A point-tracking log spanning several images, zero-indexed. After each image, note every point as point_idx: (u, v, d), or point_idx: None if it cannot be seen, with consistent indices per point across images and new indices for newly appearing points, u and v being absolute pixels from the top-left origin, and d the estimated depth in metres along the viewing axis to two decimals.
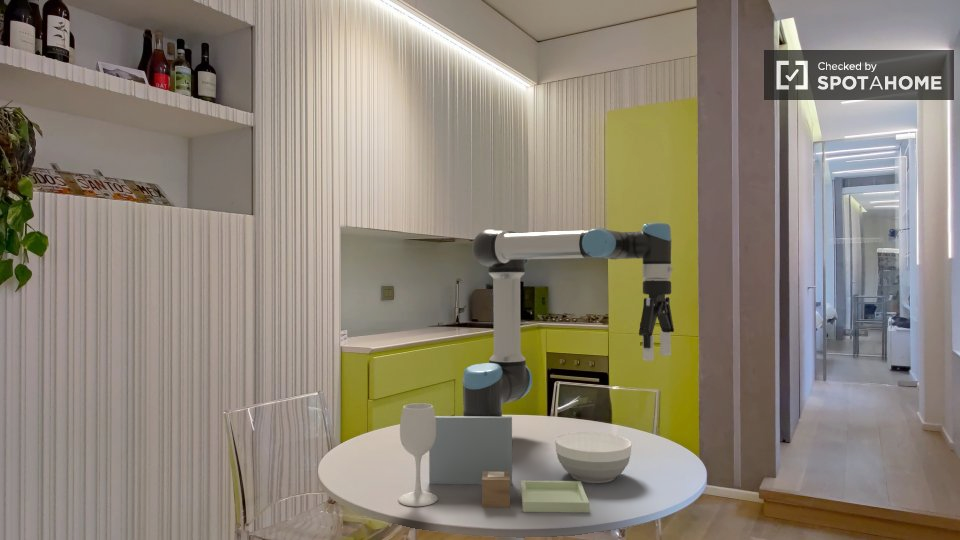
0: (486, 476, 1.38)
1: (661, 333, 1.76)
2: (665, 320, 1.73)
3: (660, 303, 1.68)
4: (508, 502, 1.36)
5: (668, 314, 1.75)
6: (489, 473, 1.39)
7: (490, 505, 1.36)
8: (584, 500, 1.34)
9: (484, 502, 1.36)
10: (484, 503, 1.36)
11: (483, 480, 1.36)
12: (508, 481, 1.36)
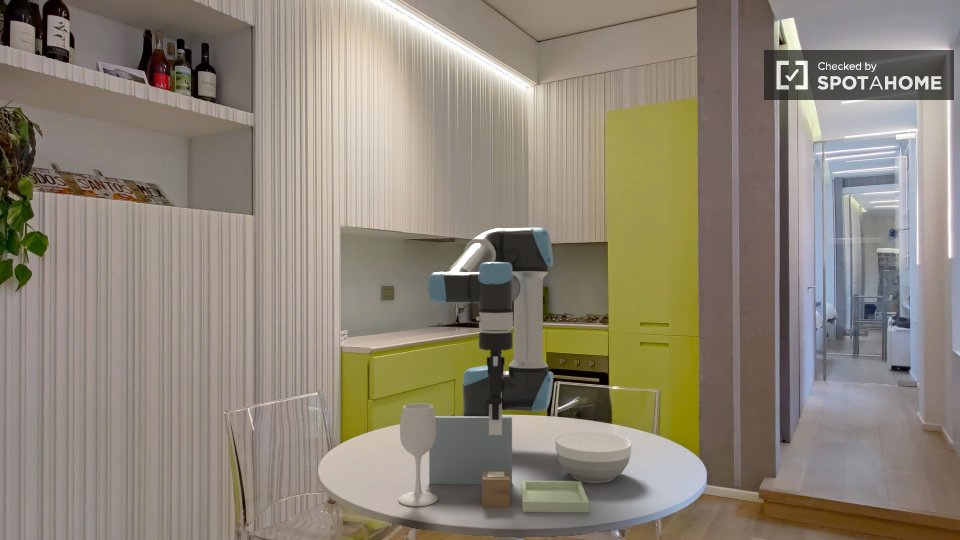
0: (486, 476, 1.38)
1: None
2: None
3: None
4: (508, 502, 1.36)
5: None
6: (489, 473, 1.39)
7: (490, 505, 1.36)
8: (584, 500, 1.34)
9: (484, 502, 1.36)
10: (484, 503, 1.36)
11: (483, 480, 1.36)
12: (508, 481, 1.36)
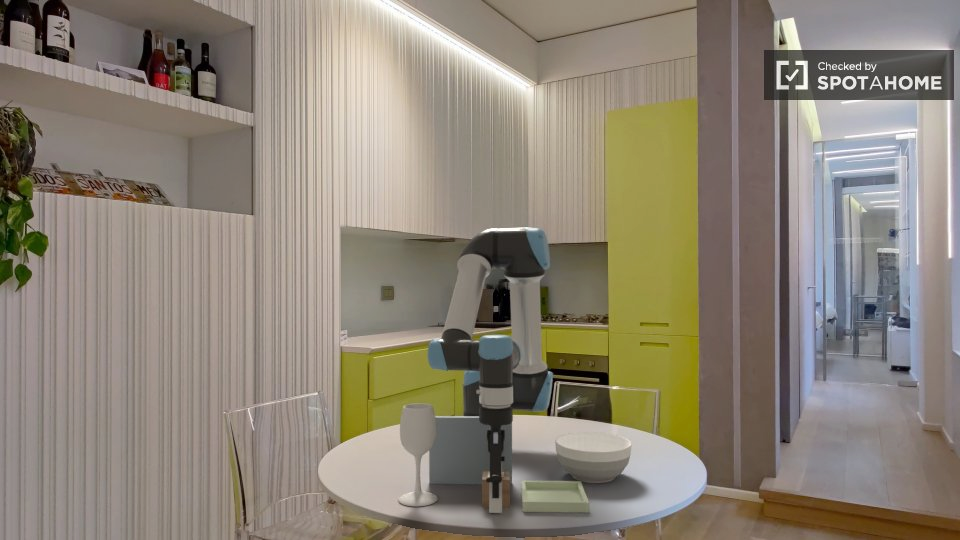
0: (486, 476, 1.38)
1: None
2: None
3: None
4: (508, 502, 1.36)
5: None
6: (489, 473, 1.39)
7: None
8: (584, 500, 1.34)
9: (484, 502, 1.36)
10: (484, 503, 1.36)
11: (483, 480, 1.36)
12: (508, 481, 1.36)
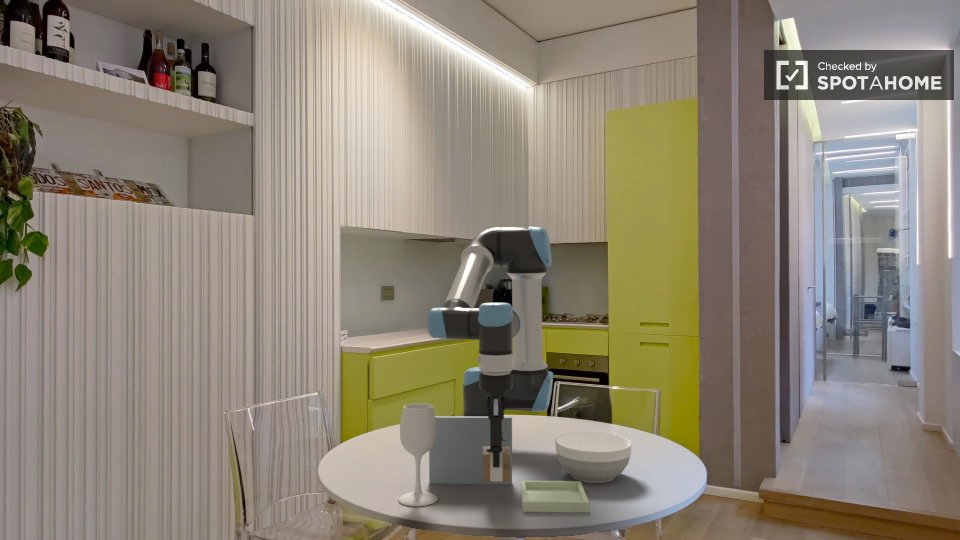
0: (486, 451, 1.39)
1: None
2: None
3: None
4: (509, 476, 1.36)
5: None
6: (489, 448, 1.40)
7: None
8: (584, 500, 1.34)
9: (485, 476, 1.36)
10: (485, 478, 1.36)
11: (484, 455, 1.36)
12: (509, 456, 1.36)
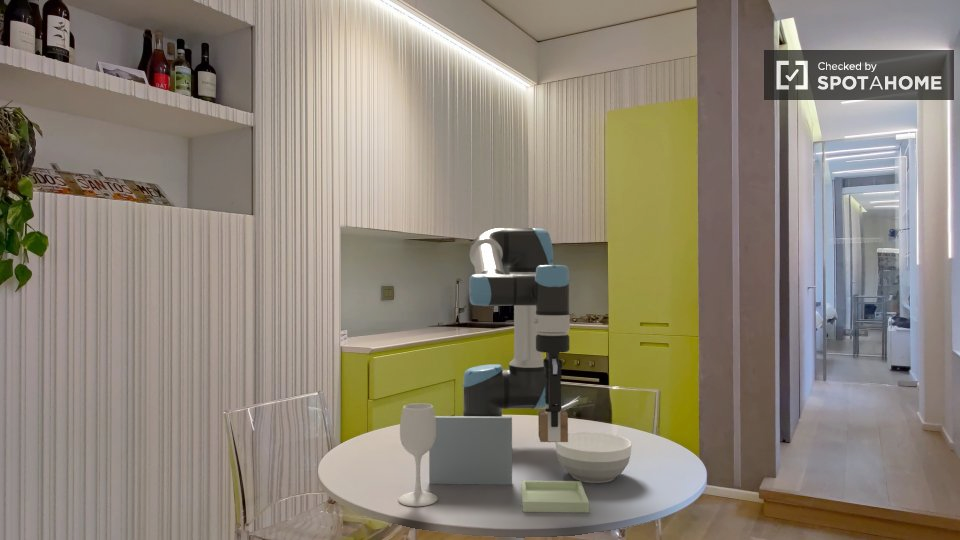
0: (543, 412, 1.39)
1: None
2: None
3: None
4: (566, 437, 1.37)
5: None
6: None
7: None
8: (584, 500, 1.34)
9: (543, 437, 1.37)
10: (543, 438, 1.37)
11: (541, 415, 1.37)
12: (566, 416, 1.37)
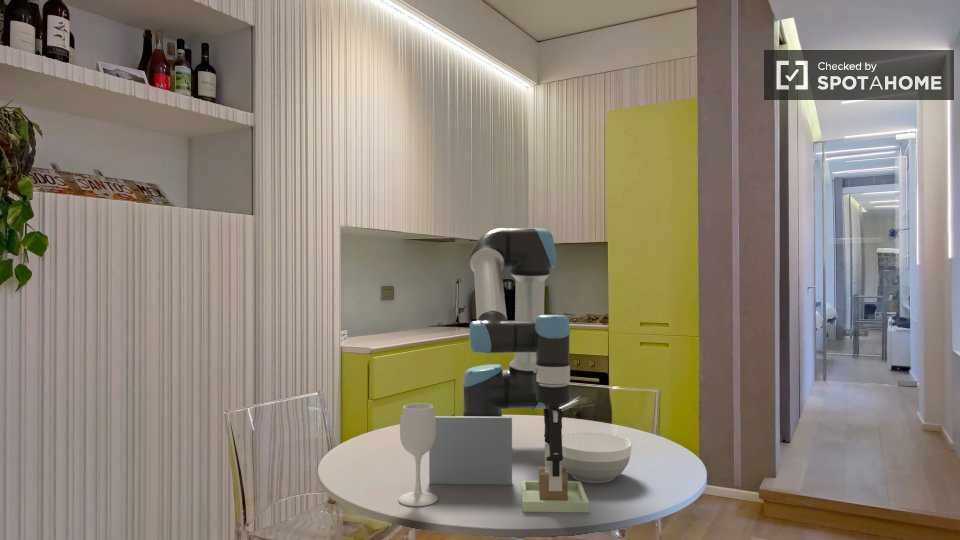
0: (543, 471, 1.39)
1: None
2: None
3: None
4: (566, 497, 1.36)
5: None
6: (546, 468, 1.40)
7: None
8: (584, 500, 1.34)
9: (542, 497, 1.37)
10: (542, 498, 1.37)
11: (541, 475, 1.37)
12: (566, 476, 1.37)
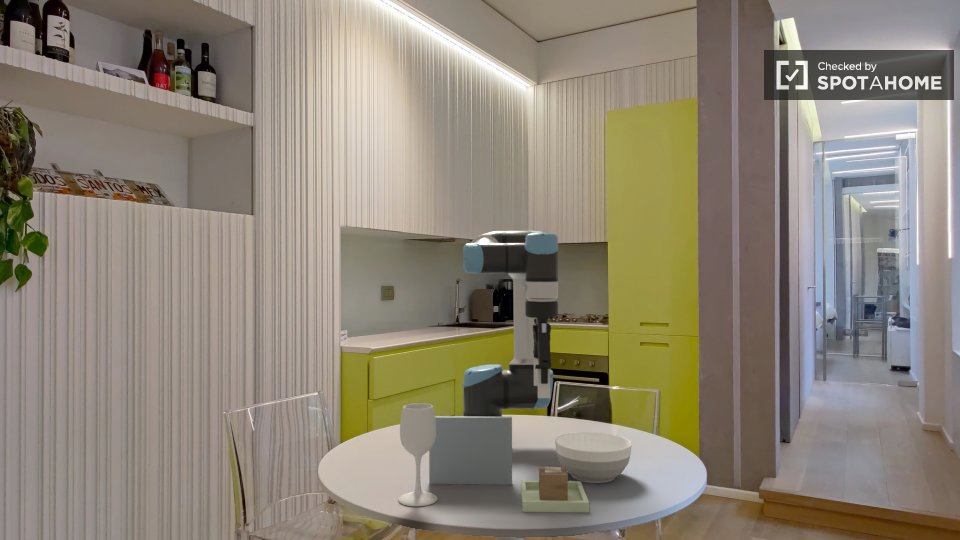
0: (543, 471, 1.39)
1: None
2: None
3: None
4: (566, 497, 1.36)
5: None
6: (546, 468, 1.40)
7: None
8: (584, 500, 1.34)
9: (542, 497, 1.37)
10: (542, 498, 1.37)
11: (541, 475, 1.37)
12: (566, 476, 1.37)
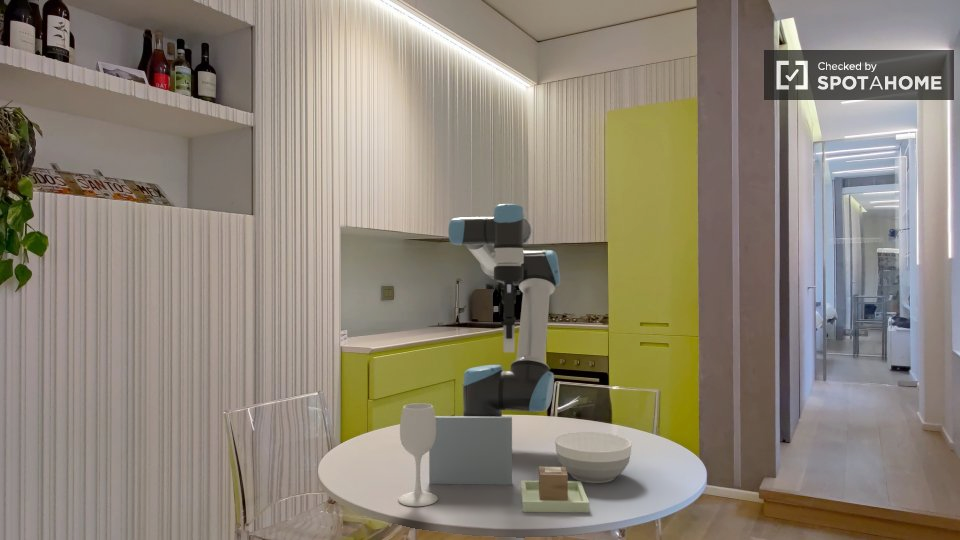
0: (543, 471, 1.39)
1: None
2: None
3: None
4: (566, 497, 1.36)
5: None
6: (546, 468, 1.40)
7: None
8: (584, 500, 1.34)
9: (542, 497, 1.37)
10: (542, 498, 1.37)
11: (541, 475, 1.37)
12: (566, 476, 1.37)
